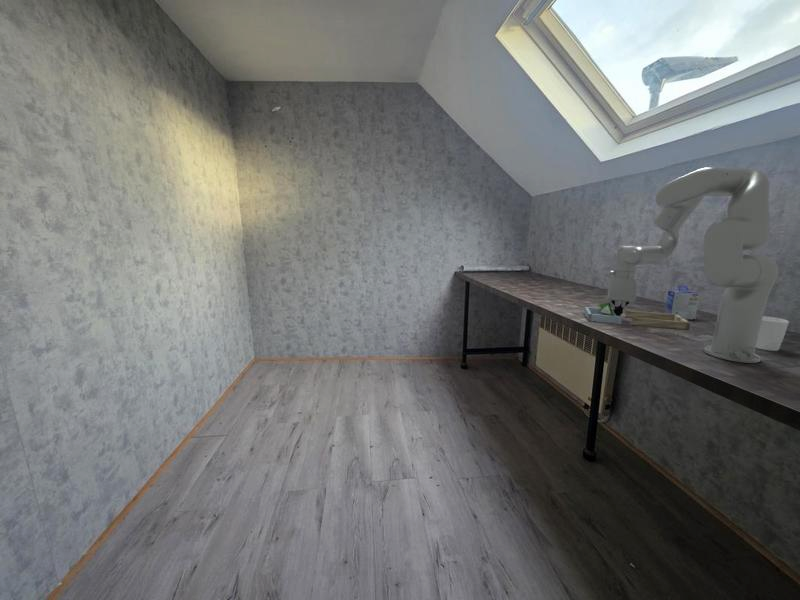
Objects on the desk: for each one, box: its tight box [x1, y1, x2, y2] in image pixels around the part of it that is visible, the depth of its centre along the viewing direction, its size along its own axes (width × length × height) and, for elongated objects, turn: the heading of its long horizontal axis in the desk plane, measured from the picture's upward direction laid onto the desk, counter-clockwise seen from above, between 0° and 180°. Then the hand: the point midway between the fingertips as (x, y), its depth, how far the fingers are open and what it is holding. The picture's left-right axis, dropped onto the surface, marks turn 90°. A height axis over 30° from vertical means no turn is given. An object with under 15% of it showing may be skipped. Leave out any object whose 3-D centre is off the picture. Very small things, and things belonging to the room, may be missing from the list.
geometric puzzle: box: [598, 302, 617, 316], centre depth 145 cm, size 7×7×8 cm
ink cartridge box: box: [664, 285, 701, 320], centre depth 145 cm, size 10×6×14 cm, turn 78°
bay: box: [583, 306, 623, 325], centre depth 146 cm, size 15×12×3 cm
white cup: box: [755, 315, 790, 352], centre depth 108 cm, size 8×8×10 cm
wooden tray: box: [624, 309, 691, 331], centre depth 138 cm, size 14×19×3 cm
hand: (617, 315), depth 144 cm, fingers closed
